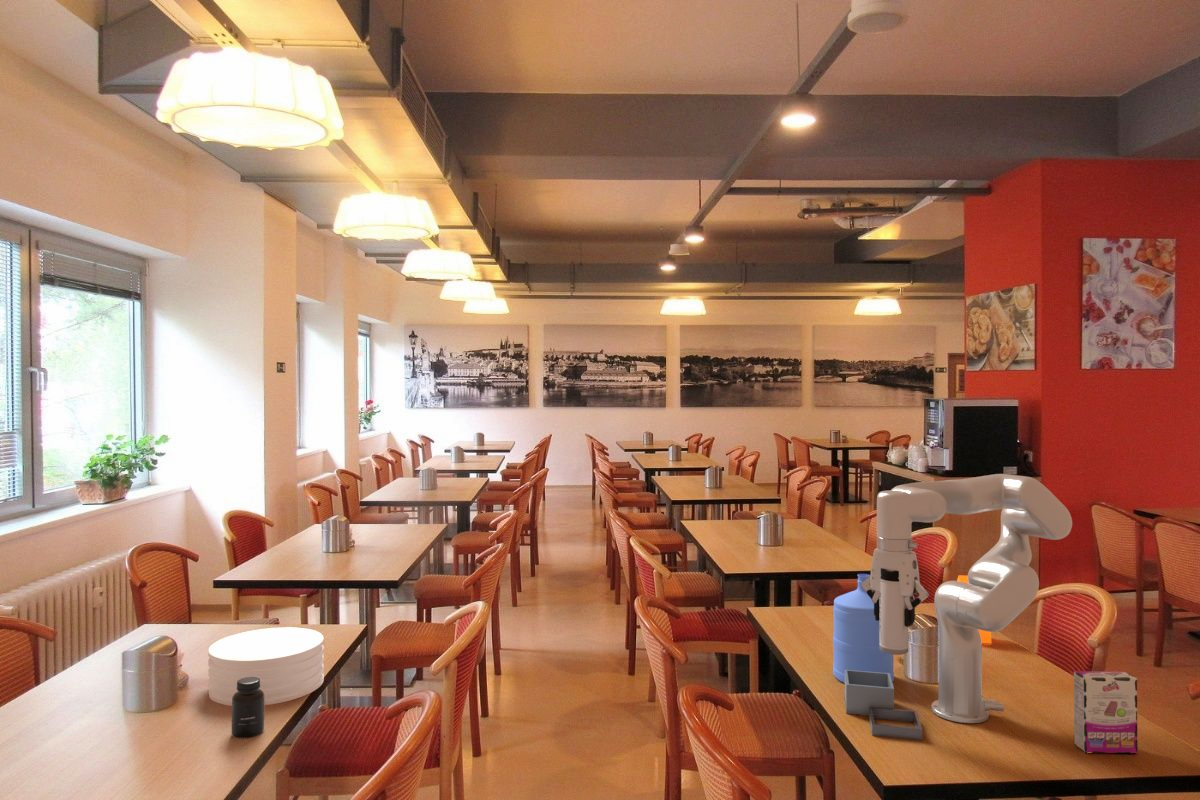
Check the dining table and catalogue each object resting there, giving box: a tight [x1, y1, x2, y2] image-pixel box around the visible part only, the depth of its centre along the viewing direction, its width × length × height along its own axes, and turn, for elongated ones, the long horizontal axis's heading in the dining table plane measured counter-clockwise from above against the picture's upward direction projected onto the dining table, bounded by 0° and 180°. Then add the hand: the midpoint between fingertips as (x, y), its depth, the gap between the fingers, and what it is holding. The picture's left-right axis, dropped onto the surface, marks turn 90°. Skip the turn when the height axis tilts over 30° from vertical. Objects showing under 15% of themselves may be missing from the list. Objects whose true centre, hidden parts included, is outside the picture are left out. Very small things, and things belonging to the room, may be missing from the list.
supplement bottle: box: [231, 677, 265, 739], centre depth 184 cm, size 7×7×12 cm
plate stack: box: [207, 626, 325, 707], centre depth 214 cm, size 28×28×12 cm
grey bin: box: [844, 670, 895, 717], centre depth 199 cm, size 11×11×7 cm
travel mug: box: [879, 568, 909, 656], centre depth 187 cm, size 6×7×20 cm
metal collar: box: [868, 707, 923, 741], centre depth 187 cm, size 11×11×2 cm
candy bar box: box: [1073, 670, 1139, 753], centre depth 176 cm, size 11×5×16 cm, turn 87°
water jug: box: [832, 573, 895, 684], centre depth 219 cm, size 16×16×28 cm
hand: (894, 621), depth 187 cm, fingers closed on travel mug, 6 cm apart
